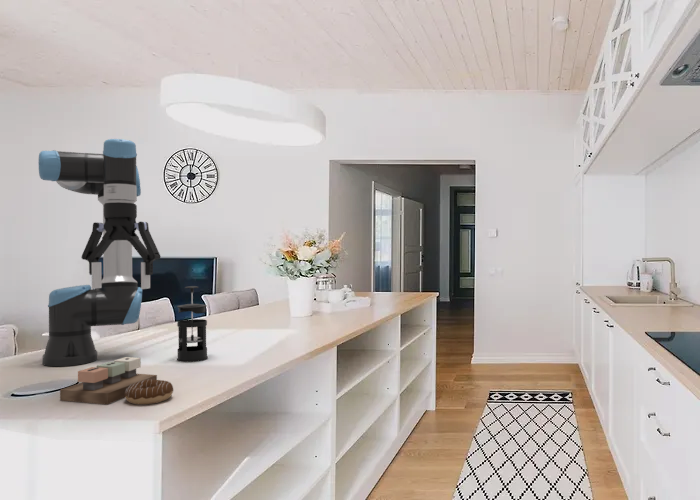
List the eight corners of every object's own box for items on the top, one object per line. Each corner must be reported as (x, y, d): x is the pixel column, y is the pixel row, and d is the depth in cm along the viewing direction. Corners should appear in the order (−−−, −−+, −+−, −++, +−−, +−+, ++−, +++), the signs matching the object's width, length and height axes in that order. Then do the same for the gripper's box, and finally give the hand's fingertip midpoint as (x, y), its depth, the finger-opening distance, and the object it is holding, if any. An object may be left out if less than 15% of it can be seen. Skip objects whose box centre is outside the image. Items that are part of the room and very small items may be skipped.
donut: (183, 396, 127) (183, 379, 127) (150, 409, 118) (150, 390, 118) (148, 392, 132) (148, 375, 132) (114, 403, 122) (114, 386, 122)
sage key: (96, 375, 129) (96, 364, 129) (109, 371, 134) (109, 361, 134) (112, 376, 128) (112, 365, 128) (124, 372, 133) (124, 362, 133)
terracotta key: (77, 381, 124) (77, 370, 124) (92, 377, 128) (91, 366, 128) (94, 382, 122) (94, 371, 122) (107, 378, 127) (107, 367, 127)
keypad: (60, 400, 124) (60, 381, 124) (113, 381, 141) (113, 365, 141) (107, 404, 121) (107, 385, 121) (156, 384, 138) (156, 367, 138)
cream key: (113, 370, 135) (113, 359, 135) (125, 366, 140) (125, 356, 140) (129, 371, 134) (128, 360, 134) (140, 367, 138) (140, 357, 138)
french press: (196, 363, 163) (195, 287, 163) (169, 361, 166) (168, 287, 166) (216, 355, 174) (215, 285, 174) (190, 354, 177) (190, 284, 177)
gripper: (65, 202, 132) (66, 289, 132) (157, 200, 127) (158, 290, 127) (86, 205, 139) (86, 287, 139) (174, 202, 134) (174, 287, 134)
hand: (120, 288), depth 133 cm, fingers open, 13 cm apart
